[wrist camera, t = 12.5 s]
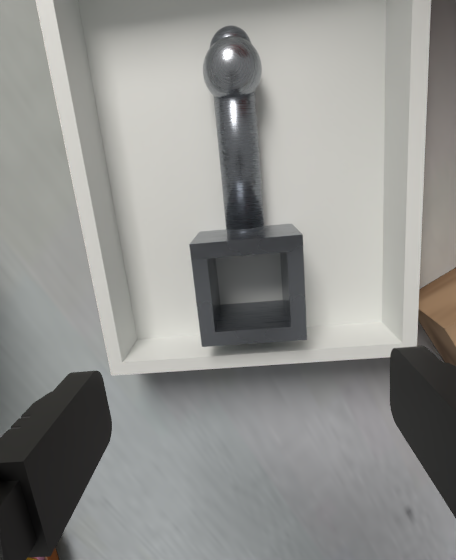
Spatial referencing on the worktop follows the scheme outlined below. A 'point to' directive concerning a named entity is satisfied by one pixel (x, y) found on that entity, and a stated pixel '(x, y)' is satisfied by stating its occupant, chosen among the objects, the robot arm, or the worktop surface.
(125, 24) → the bin
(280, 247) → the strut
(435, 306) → the stud block
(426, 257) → the worktop surface
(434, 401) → the robot arm
